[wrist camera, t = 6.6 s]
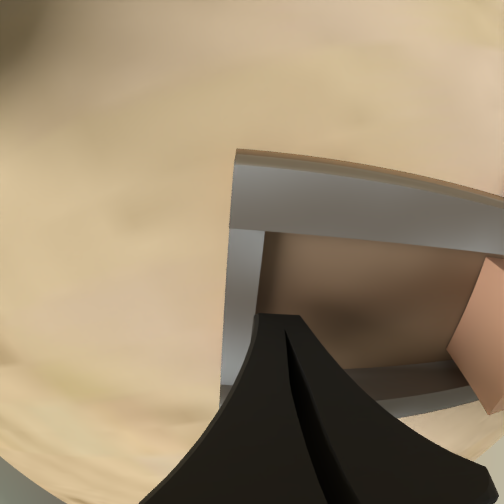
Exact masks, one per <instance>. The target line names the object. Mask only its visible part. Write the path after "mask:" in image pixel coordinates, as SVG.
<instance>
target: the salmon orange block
mask: <svg viewBox="0 0 504 504" xmlns="http://www.w3.org/2000/svg"><path fill="white" fill-rule="evenodd" d="M446 350H447V351H448V353H449V354H450V356H451V357H452V359H453V360H454V362H455V363H456V365H457V366H458V368H459V369H460V371H461V372H462V374H463V375H464V377H465V378H466V380H467V381H468V383H469V385H470V386H471V388H472V389H473V391H474V392H475V394H476V396H477V397H478V399H479V401H480V402H481V404H482V405H483V407H484V409H485V410H486V412H487V414H488V415H491V414H493V413H496V412H499V411H501V410H504V259H500V258H491V257H486V258H485V261H484V264H483V266H482V269H481V272H480V275H479V277H478V280H477V282H476V285H475V287H474V290H473V292H472V295H471V297H470V300H469V302H468V304H467V307H466V309H465V311H464V313H463V316H462V318H461V320H460V322H459V324H458V326H457V328H456V331H455V333H454V335H453V337H452V339H451V341H450V343H449V345H448V346H447V348H446Z"/></svg>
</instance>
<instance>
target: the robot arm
mask: <svg viewBox="0 0 504 504" xmlns="http://www.w3.org/2000/svg"><path fill="white" fill-rule="evenodd" d="M498 497H499V495H498V492H497V490H496V488H495V485H494V483H493V481H492V479H491V476H490V474H489V472H488V470H487V468H486V467H485V466H482V465H480V464H477V463H475V462H473V461H470V460H468V459H465V458H463V457H461V456H459V455H456V454H454V453H452V452H450V451H448V450H446V449H444V448H442V447H441V446H439V445H437V444H435V443H433V442H432V441H430V440H428V439H426V438H425V437H423V436H422V435H420V434H418V433H417V432H415V431H414V430H412V429H411V428H410V427H408V426H407V425H405V424H404V423H402V422H401V421H400V420H398V419H397V418H395V417H394V416H393V415H392V414H390V413H389V412H388V411H386V410H385V409H384V408H383V407H382V406H381V405H379V404H378V403H377V402H376V401H375V400H374V399H372V398H371V397H370V396H369V395H368V394H367V393H366V392H365V391H364V390H363V389H361V388H360V387H359V386H358V385H357V384H356V382H355V381H354V380H353V379H352V378H351V377H350V376H349V375H348V374H347V373H346V372H345V371H344V370H343V369H342V368H341V366H340V365H339V364H338V363H337V362H336V361H335V359H334V358H333V357H332V356H331V355H330V353H329V352H328V351H327V350H326V349H325V347H324V346H323V345H322V344H321V342H320V341H319V340H318V338H317V337H316V336H315V334H314V333H313V332H312V330H311V329H310V328H309V327H308V325H307V324H306V323H305V321H304V320H303V319H302V317H301V316H300V315H289V314H269V313H257V314H256V315H254V318H253V326H252V334H251V342H250V345H249V348H248V351H247V354H246V356H245V359H244V362H243V364H242V366H241V369H240V371H239V373H238V375H237V377H236V380H235V382H234V384H233V386H232V388H231V390H230V391H229V393H228V395H227V397H226V399H225V400H224V402H223V404H222V405H221V407H220V409H219V410H218V412H217V414H216V415H215V417H214V418H213V420H212V421H211V422H210V424H209V425H208V427H207V428H206V430H205V431H204V433H203V434H202V435H201V437H200V438H199V439H198V441H197V442H196V443H195V444H194V446H193V447H192V448H191V449H190V450H189V452H188V453H187V454H186V455H185V456H184V458H183V459H182V460H181V461H180V462H179V463H178V465H177V466H176V467H175V468H174V469H173V470H172V471H171V472H170V473H169V475H168V476H167V477H166V478H165V479H164V480H163V481H161V482H160V483H159V484H158V485H157V486H156V487H155V488H154V489H153V490H152V491H151V492H150V493H149V494H148V495H147V496H146V497H145V498H144V499H143V500H141V501H140V502H139V504H494V503H495V502H496V501H497V499H498Z"/></svg>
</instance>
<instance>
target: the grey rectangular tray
mask: <svg viewBox="0 0 504 504" xmlns="http://www.w3.org/2000/svg"><path fill="white" fill-rule="evenodd" d="M229 228H230V229H229V243H228V258H227V273H226V289H225V306H224V324H223V343H222V363H221V385H220V403H219V409H220V407H221V405H222V404H223V402H224V400H225V399H226V397H227V395H228V393H229V391H230V390H231V388H232V386H233V384H234V382H235V380H236V377H237V375H238V373H239V371H240V369H241V366H242V364H243V362H244V359H245V356H246V354H247V351H248V348H249V345H250V342H251V334H252V326H253V318H254V315H256V314H257V313H269V314H289V315H300V316H301V317H302V319H303V320H304V321H305V323H306V324H307V325H308V327H309V328H310V329H311V330H312V332H313V333H314V334H315V336H316V337H317V338H318V340H319V341H320V342H321V344H322V345H323V346H324V347H325V349H326V350H327V351H328V352H329V353H330V355H331V356H332V357H333V358H334V359H335V361H336V362H337V363H338V364H339V365H340V366H341V368H342V369H343V370H344V371H345V372H346V373H347V374H348V375H349V376H350V377H351V378H352V379H353V380H354V381H355V382H356V384H357V385H358V386H359V387H360V388H361V389H363V390H364V391H365V392H366V393H367V394H368V395H369V396H370V397H371V398H372V399H374V400H375V401H376V402H377V403H378V404H379V405H381V406H382V407H383V408H384V409H385V410H386V411H388V412H389V413H390V414H392V415H393V416H394V417H395V418H402V417H408V416H413V415H418V414H423V413H428V412H433V411H438V410H442V409H447V408H451V407H455V406H459V405H463V404H466V403H470V402H474V401H477V400H479V399H478V397H477V396H476V394H475V392H474V391H473V389H472V388H471V386H470V385H469V383H468V381H467V380H466V378H465V377H464V375H463V374H462V372H461V371H460V369H459V368H458V366H457V365H456V363H455V362H454V360H453V359H452V357H451V356H450V354H449V353H448V351H447V350H446V348H447V346H448V345H449V343H450V341H451V339H452V337H453V335H454V333H455V331H456V328H457V326H458V324H459V322H460V320H461V318H462V316H463V313H464V311H465V309H466V307H467V304H468V302H469V300H470V297H471V295H472V292H473V290H474V287H475V285H476V282H477V280H478V277H479V275H480V272H481V269H482V266H483V264H484V261H485V258H486V257H491V258H500V259H504V197H500V196H497V195H494V194H490V193H487V192H483V191H480V190H476V189H473V188H469V187H465V186H461V185H458V184H454V183H450V182H446V181H442V180H437V179H433V178H429V177H424V176H420V175H415V174H411V173H406V172H401V171H396V170H391V169H386V168H381V167H375V166H370V165H364V164H358V163H352V162H346V161H340V160H333V159H326V158H319V157H312V156H304V155H296V154H287V153H278V152H269V151H258V150H247V149H237V150H236V156H235V162H234V171H233V183H232V196H231V209H230V223H229Z"/></svg>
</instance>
